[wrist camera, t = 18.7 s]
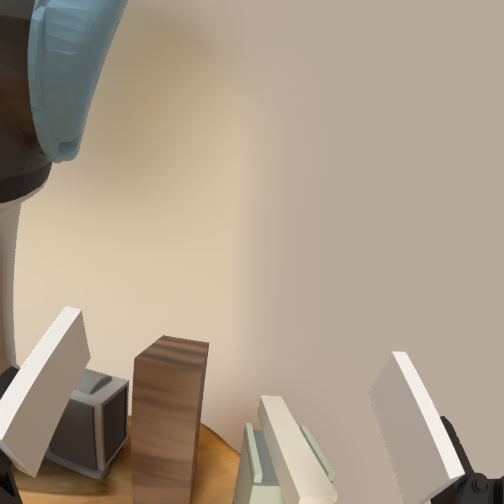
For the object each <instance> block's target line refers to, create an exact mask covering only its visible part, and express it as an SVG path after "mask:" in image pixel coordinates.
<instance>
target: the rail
mask: <svg viewBox="0 0 504 504" xmlns="http://www.w3.org/2000/svg"><path fill="white" fill-rule="evenodd" d="M258 417H259V420H260V424H261V427H262V430H263V434H264V437H265V440H266V444H267V447H268V450H269V453H270V457H271V460H272V463H273V466H274V469H275V473H276V476H277V479H278V482H279V485H280V488H281V491H282V494H283V497H284V500H285V503H286V504H335V503H336V500H337V497H338V493H337V492H336V490H335V489H334V487H333V485H332V483H331V482H330V480H329V479H328V477H327V475H326V474H325V472H324V470H323V469H322V467H321V465H320V464H319V462H318V460H317V458H316V457H315V455H314V453H313V452H312V450H311V448H310V446H309V445H308V443H307V441H306V440H305V438H304V436H303V434H302V433H301V431H300V429H299V427H298V426H297V424H296V422H295V420H294V419H293V417H292V415H291V413H290V411H289V410H288V408H287V406H286V404H285V403H284V401H283V399H282V397H279V396H264V395H261V396H260V401H259V408H258Z"/></svg>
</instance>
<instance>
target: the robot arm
mask: <svg viewBox="0 0 504 504" xmlns="http://www.w3.org/2000/svg"><path fill="white" fill-rule="evenodd" d="M127 3H128V0H0V504H23V503H22V500H21V498H20V495H19V492H18V489H17V487H16V484H15V481H14V478H13V475H12V472H11V470H10V466H11V463H13V464H14V466H15V467H16V468H17V469H18V470H20V471H22V472H24V473H26V474H28V475H30V476H32V477H34V478H36V475H37V472H38V470H39V467H40V465H41V462H42V460H43V457H44V455H45V452H46V450H47V448H48V445H49V443H50V441H51V438H52V436H53V434H54V432H55V429H56V427H57V425H58V423H59V420H60V418H61V416H62V414H63V412H64V410H65V408H66V405H67V403H68V401H69V399H70V397H71V395H72V393H73V391H74V389H75V387H76V385H77V383H78V381H79V379H80V377H81V375H82V373H83V371H84V369H85V367H86V365H87V363H88V362H89V360H90V353H89V349H88V344H87V339H86V333H85V328H84V322H83V316H82V310H80V309H76V308H72V307H69V306H66V307H65V308H64V309H63V311H62V312H61V313H60V314H59V316H58V317H57V318H56V320H55V321H54V322H53V324H52V325H51V326H50V328H49V329H48V330H47V332H46V333H45V334H44V336H43V337H42V338H41V340H40V341H39V343H38V344H37V345H36V347H35V348H34V350H33V351H32V352H31V354H30V355H29V357H28V358H27V360H26V361H25V363H24V364H23V366H22V367H21V368H20V367H19V366H18V365H17V364H16V354H15V341H14V323H13V281H14V261H15V248H16V238H17V229H18V221H19V214H20V208H21V203H22V202H24V201H25V200H27V199H28V198H30V197H32V196H33V195H35V194H36V193H37V192H39V191H40V189H42V188H43V186H44V185H45V183H46V182H47V180H48V176H49V173H50V169H51V165H52V162H54V163H61V162H62V161H71V160H73V159H74V158H75V157H76V156H77V154H78V152H79V148H80V143H81V140H82V136H83V132H84V128H85V124H86V119H87V116H88V112H89V108H90V105H91V101H92V98H93V95H94V91H95V89H96V85H97V82H98V79H99V76H100V73H101V70H102V67H103V64H104V61H105V58H106V56H107V53H108V50H109V47H110V45H111V42H112V40H113V37H114V34H115V32H116V29H117V27H118V24H119V22H120V20H121V17H122V15H123V12H124V10H125V8H126V5H127ZM368 394H369V397H370V400H371V403H372V406H373V408H374V411H375V414H376V417H377V420H378V423H379V426H380V428H381V431H382V435H383V438H384V440H385V444H386V447H387V450H388V453H389V456H390V459H391V462H392V465H393V469H394V472H395V475H396V478H397V482H398V485H399V488H400V492H401V495H402V499H403V502H404V504H424V503H426V502H427V501H429V500H430V501H431V504H504V476H503V477H501V478H500V479H487V478H486V476H485V475H483V474H481V473H475V472H474V471H473V469H472V467H471V465H470V463H469V460H468V458H467V456H466V454H465V451H464V449H463V447H462V445H461V444H460V441H459V438H458V437H457V436H456V432H455V430H454V428H453V426H452V424H451V423H450V422H449V421H448V420H447V419H446V418H445V417H444V416H442V417H439V415H438V413H437V411H436V409H435V407H434V405H433V403H432V401H431V399H430V397H429V395H428V393H427V391H426V389H425V387H424V385H423V383H422V381H421V380H420V378H419V376H418V374H417V372H416V370H415V368H414V366H413V365H412V363H411V361H410V359H409V357H408V355H407V354H406V352H392V353H391V355H390V356H389V358H388V360H387V362H386V364H385V365H384V367H383V369H382V371H381V372H380V374H379V376H378V377H377V379H376V380H375V382H374V384H373V385H372V387H371V389H370V390H369V392H368Z"/></svg>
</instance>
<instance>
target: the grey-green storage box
mask: <svg viewBox="0 0 504 504" xmlns="http://www.w3.org/2000/svg"><path fill="white" fill-rule="evenodd" d="M300 431H301V433H302V434H303V436H304V438H305V440H306V441H307V443H308V445H309V446H310V448H311V450H312V452H313V453H314V455H315V457H316V458H317V460H318V462H319V464H320V465H321V467H322V469H323V470H324V472H325V474H326V475H327V477H328V479H329V480H330V482H331V483H332V482H333V479H334V476H335V471H334V470H333V468H332V467H331V465H330V464H329V462H328V461H327V459H326V457H325V456H324V454H323V453H322V451H321V450H320V448H319V446H318V445H317V443H316V442H315V440H314V438H313V437H312V435H311V434H310V432H309V430H308V429H307V427H306V426H300ZM233 504H286V503H285V500H284V497H283V494H282V491H281V488H280V485H279V482H278V479H277V476H276V473H275V469H274V466H273V463H272V460H271V457H270V453H269V450H268V447H267V444H266V440H265V437H264V434H263V431H258V430H253V429H252V425H251V423H246V426H245V432H244V438H243V445H242V451H241V456H240V463H239V469H238V475H237V481H236V487H235V493H234V499H233Z"/></svg>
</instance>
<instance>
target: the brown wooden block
mask: <svg viewBox="0 0 504 504" xmlns="http://www.w3.org/2000/svg"><path fill="white" fill-rule="evenodd" d="M208 348H209V343H207V342H201V341H194V340H188V339H182V338H176V337H170V336H164V335H163V336H162V337H161V338H159V339H158V340H157V341H156V342H154V343H153V344H152V345H151V346H149V347H148V348H147V349H145V350H144V351H143V352H142V353H140V354H139V355H138V356H137V357H135V359H134V373H133V392H132V425H131V454H132V485H133V502H134V504H190V503H191V495H192V488H193V481H194V474H195V467H196V459H197V448H198V438H199V428H200V418H201V409H202V400H203V391H204V381H205V373H206V365H207V356H208Z"/></svg>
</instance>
